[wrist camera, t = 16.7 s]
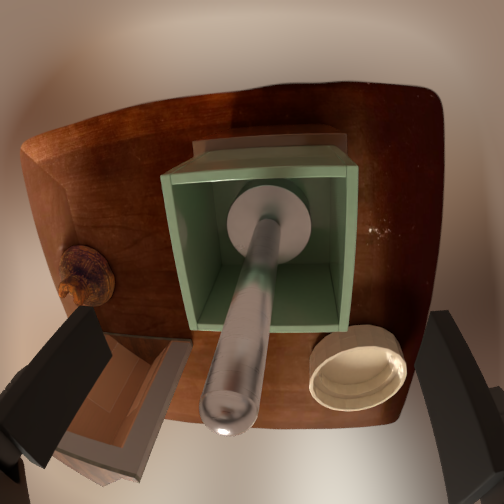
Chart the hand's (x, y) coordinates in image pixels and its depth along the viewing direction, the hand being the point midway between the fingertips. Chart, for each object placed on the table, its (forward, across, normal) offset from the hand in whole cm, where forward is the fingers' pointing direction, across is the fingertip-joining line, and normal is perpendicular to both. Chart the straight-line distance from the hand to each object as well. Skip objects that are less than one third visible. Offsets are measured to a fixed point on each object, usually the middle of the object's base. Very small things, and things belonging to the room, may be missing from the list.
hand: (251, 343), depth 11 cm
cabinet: (+32, -28, -33) cm, 54 cm away
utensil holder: (+32, -1, 0) cm, 32 cm away
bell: (+32, -35, -15) cm, 49 cm away
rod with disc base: (+15, 0, 0) cm, 15 cm away
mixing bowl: (+32, +11, -32) cm, 47 cm away
